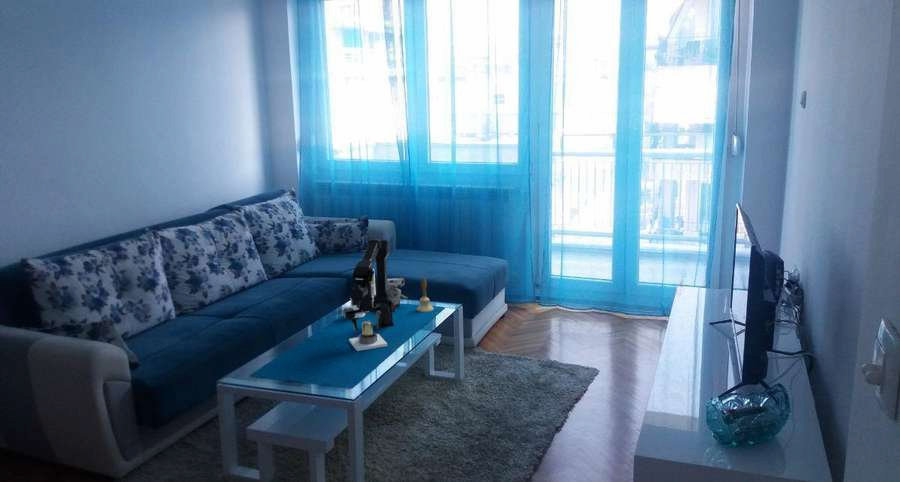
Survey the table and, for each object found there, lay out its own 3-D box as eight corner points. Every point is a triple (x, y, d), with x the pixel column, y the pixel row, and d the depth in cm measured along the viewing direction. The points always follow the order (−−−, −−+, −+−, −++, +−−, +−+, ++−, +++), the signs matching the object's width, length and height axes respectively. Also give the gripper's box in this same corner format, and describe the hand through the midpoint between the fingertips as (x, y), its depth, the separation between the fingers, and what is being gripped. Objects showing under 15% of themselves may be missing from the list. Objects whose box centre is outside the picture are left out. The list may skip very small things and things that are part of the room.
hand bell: (433, 311, 332) (431, 279, 329) (416, 312, 333) (414, 280, 329) (433, 306, 340) (432, 275, 337) (417, 307, 341) (415, 275, 337)
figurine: (401, 311, 334) (399, 281, 331) (381, 309, 339) (379, 279, 336) (410, 306, 342) (409, 277, 339) (390, 304, 347) (389, 275, 344)
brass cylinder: (371, 338, 294) (370, 320, 293) (374, 341, 290) (373, 323, 289) (361, 340, 293) (360, 322, 291) (364, 343, 289) (363, 325, 287)
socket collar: (374, 336, 296) (373, 331, 296) (379, 342, 290) (378, 337, 289) (356, 339, 294) (356, 334, 293) (361, 345, 287) (361, 339, 286)
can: (366, 314, 332) (365, 290, 330) (363, 318, 326) (362, 293, 324) (353, 314, 333) (351, 290, 331) (350, 318, 327) (348, 293, 324)
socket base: (378, 336, 300) (378, 334, 300) (387, 346, 288) (387, 343, 288) (349, 341, 295) (349, 338, 295) (356, 351, 284) (356, 348, 283)
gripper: (381, 287, 298) (383, 321, 301) (338, 292, 291) (340, 328, 295) (388, 293, 288) (390, 329, 291) (344, 299, 281) (347, 336, 284)
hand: (367, 330), depth 291 cm, fingers open, 9 cm apart
